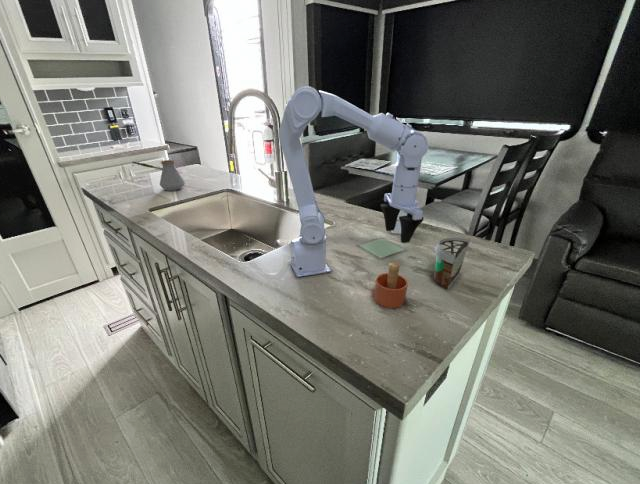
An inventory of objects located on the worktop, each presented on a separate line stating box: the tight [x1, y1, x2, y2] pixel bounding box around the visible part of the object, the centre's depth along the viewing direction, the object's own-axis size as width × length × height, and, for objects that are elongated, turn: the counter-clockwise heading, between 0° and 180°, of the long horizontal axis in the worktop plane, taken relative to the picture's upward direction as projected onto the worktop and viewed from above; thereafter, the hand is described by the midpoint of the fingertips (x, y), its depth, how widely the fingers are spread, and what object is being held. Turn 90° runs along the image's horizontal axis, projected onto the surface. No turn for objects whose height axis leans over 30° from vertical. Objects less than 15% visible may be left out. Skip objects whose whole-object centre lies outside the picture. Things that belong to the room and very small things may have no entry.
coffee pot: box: [131, 159, 186, 192], centre depth 150 cm, size 21×12×15 cm, turn 131°
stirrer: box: [386, 261, 401, 289], centre depth 74 cm, size 2×2×9 cm
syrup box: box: [390, 210, 407, 235], centre depth 107 cm, size 6×6×14 cm
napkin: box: [358, 237, 405, 259], centre depth 100 cm, size 10×10×1 cm
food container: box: [433, 236, 471, 290], centre depth 82 cm, size 12×6×10 cm, turn 141°
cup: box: [373, 272, 409, 309], centre depth 76 cm, size 7×7×5 cm
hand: (397, 235), depth 84 cm, fingers open, 7 cm apart
